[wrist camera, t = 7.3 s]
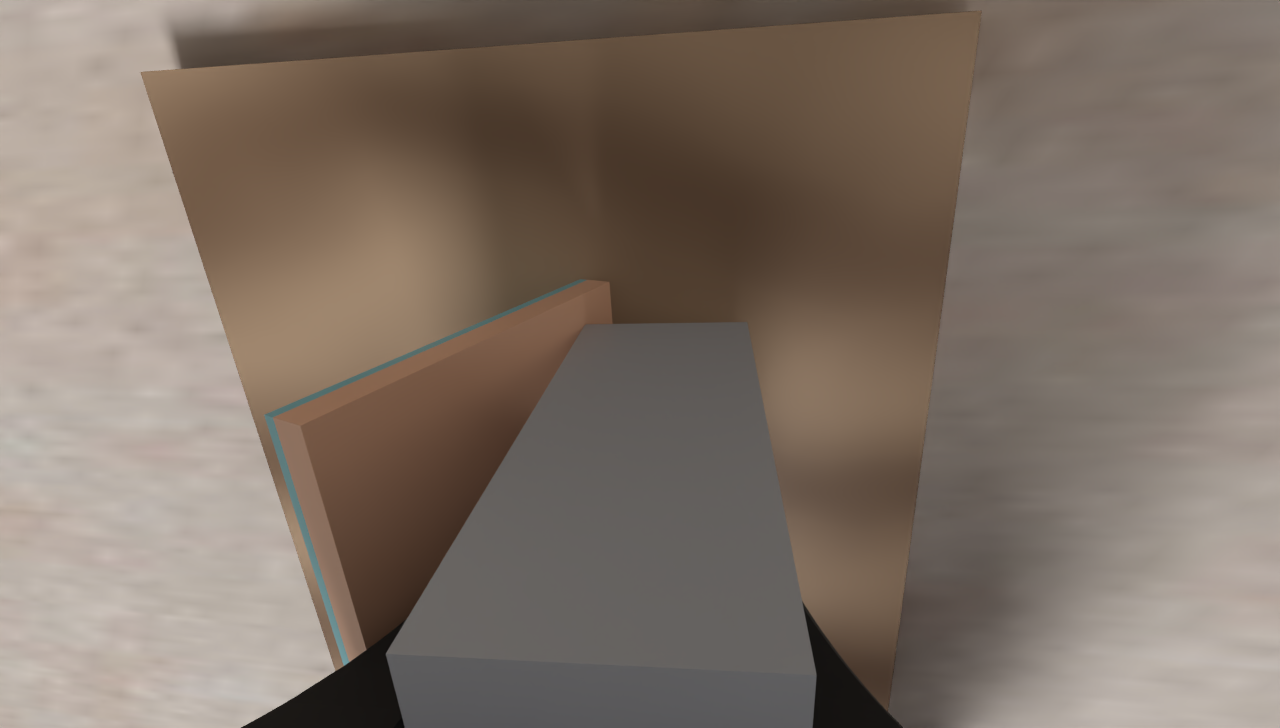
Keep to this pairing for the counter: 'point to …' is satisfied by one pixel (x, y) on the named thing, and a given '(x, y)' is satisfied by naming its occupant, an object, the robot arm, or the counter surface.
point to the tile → (416, 454)
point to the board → (614, 236)
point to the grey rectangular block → (622, 556)
